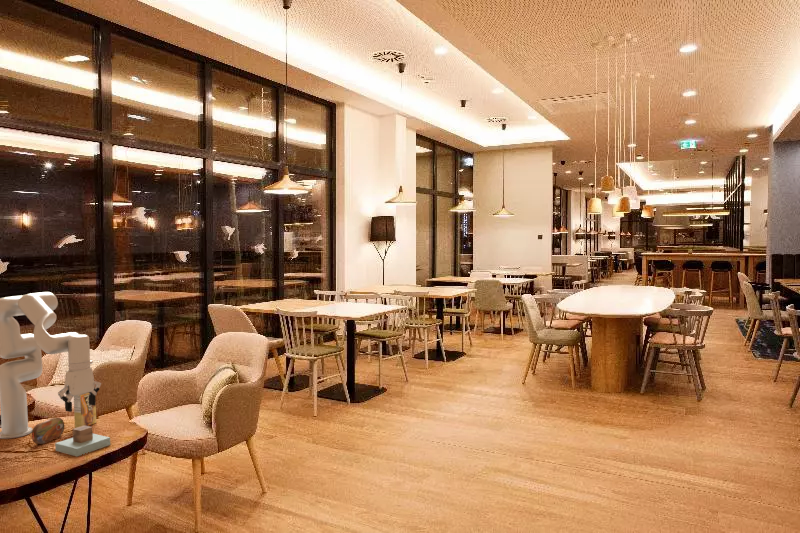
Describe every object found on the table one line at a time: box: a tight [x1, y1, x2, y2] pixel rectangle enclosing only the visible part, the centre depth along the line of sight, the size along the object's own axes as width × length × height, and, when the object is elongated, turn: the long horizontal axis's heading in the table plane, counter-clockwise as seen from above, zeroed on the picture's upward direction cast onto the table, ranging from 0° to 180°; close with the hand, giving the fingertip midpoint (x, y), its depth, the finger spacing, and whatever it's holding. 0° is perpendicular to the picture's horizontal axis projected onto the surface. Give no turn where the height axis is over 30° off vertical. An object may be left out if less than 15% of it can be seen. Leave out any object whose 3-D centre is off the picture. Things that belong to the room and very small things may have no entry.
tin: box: [31, 417, 65, 445], centre depth 242 cm, size 15×3×8 cm, turn 168°
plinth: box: [54, 433, 111, 457], centre depth 233 cm, size 14×14×3 cm
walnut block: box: [72, 425, 94, 443], centre depth 233 cm, size 5×5×5 cm
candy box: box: [73, 393, 97, 428], centre depth 261 cm, size 9×4×15 cm, turn 167°
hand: (80, 408), depth 232 cm, fingers open, 9 cm apart
